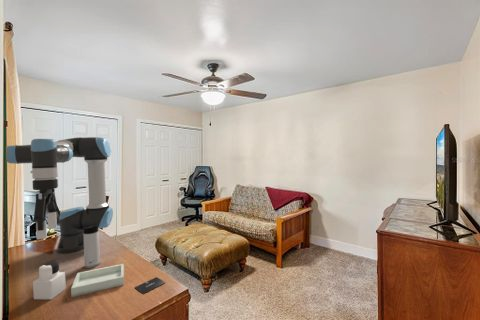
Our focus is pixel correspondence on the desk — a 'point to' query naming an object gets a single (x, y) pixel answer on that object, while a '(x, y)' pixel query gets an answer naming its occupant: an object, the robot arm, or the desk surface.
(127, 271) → the desk surface
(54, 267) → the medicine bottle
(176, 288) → the desk surface
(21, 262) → the desk surface
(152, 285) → the solid state drive
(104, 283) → the tray
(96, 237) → the travel mug
